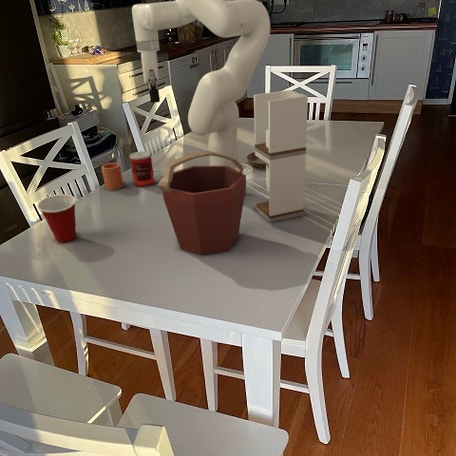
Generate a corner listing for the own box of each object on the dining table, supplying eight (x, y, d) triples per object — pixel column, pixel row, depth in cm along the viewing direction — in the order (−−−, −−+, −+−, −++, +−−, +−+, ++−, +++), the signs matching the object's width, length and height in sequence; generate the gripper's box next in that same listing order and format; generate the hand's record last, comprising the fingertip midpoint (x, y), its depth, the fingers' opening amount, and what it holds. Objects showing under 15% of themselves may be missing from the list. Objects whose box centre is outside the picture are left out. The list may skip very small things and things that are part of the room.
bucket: (171, 265, 126) (159, 173, 112) (158, 231, 144) (146, 148, 130) (259, 249, 131) (257, 159, 118) (235, 218, 149) (231, 137, 136)
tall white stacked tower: (287, 203, 157) (289, 89, 138) (303, 215, 148) (307, 96, 130) (256, 209, 154) (253, 94, 135) (270, 222, 145) (269, 101, 126)
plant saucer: (241, 169, 188) (240, 161, 186) (253, 155, 202) (253, 148, 200) (285, 171, 182) (285, 163, 181) (295, 157, 196) (295, 150, 195)
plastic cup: (46, 249, 138) (35, 211, 131) (48, 234, 146) (37, 197, 140) (85, 243, 140) (75, 205, 133) (84, 228, 149) (75, 192, 142)
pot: (123, 188, 176) (119, 167, 172) (105, 190, 176) (101, 169, 171) (123, 182, 182) (120, 162, 178) (106, 184, 181) (102, 163, 177)
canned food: (144, 178, 185) (140, 150, 179) (159, 182, 180) (155, 153, 174) (129, 184, 180) (124, 155, 174) (143, 188, 175) (139, 159, 169)
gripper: (136, 44, 168) (144, 95, 177) (137, 49, 154) (144, 105, 163) (158, 42, 169) (164, 94, 178) (160, 48, 154) (166, 103, 164)
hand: (154, 99), depth 171 cm, fingers open, 9 cm apart
